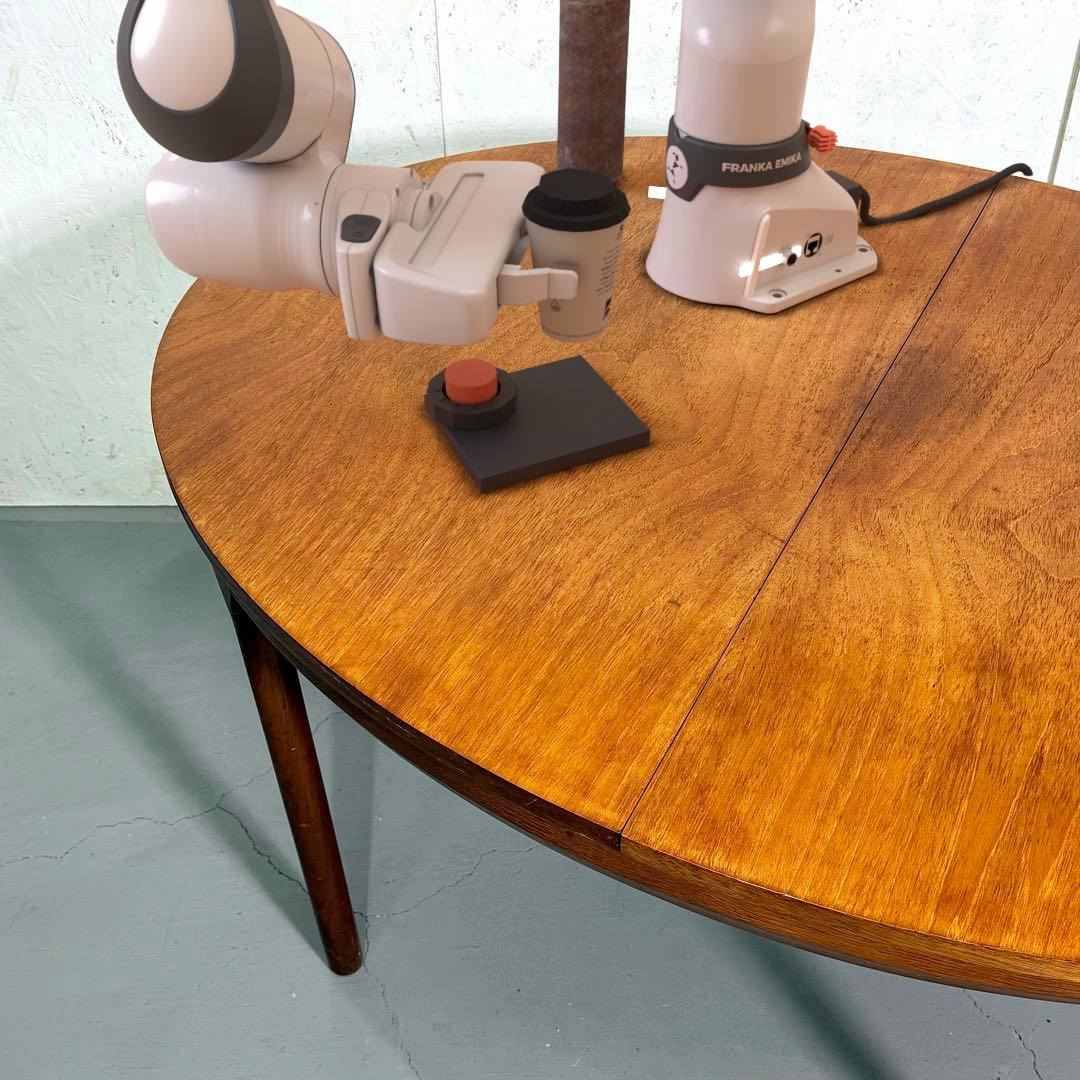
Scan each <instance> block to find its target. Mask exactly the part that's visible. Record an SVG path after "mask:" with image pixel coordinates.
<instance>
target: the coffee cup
mask: <svg viewBox="0 0 1080 1080" xmlns="http://www.w3.org/2000/svg"><path fill="white" fill-rule="evenodd" d="M545 173H546V172H545ZM522 211H523V214H524V216H525V217H526V219H527V226H528V234H529V241H530V245H529V247H530V255H531V263H532V269H538V268H548V267H551V265H552V263H553V262H561V263H565V264H569V263H572V264H576V265H577V266H579V268H580V286H579V289H578V292H577V295H576V297H575V298H574V299H572V300H564V299H552V298H548V299H546V300H542V301H538V302H537V307H538V314H539V316H538V317H539V322H540V329H541V331H542V333H544V335H546V336H547V337H549V338H551V339H552V340H555V341H559V342H561V343H571V344H575V343H576V344H577V343H585V342H586V343H587V342H590V341H594V340H596V339H598V338H600V337H601V336H602V335H603V334H605V333H606V331H607V328H608V325H609V324H608V323H609V317H610V312H611V307H612V302H613V301H612V300H613V295H614V288H615V285H616V277H617V271H618V268H619V260H620V255H621V249H622V244H623V238H624V234H625V233H624V232H625V227H626V220H627V218H628V217H629V216H630V213H631V211H632V208H631V206H630V203H629V200H628V198H627V195H626V193H625V192H624V191H623V190H622V189H620V188H619V187H617V186H616V185H615V183H614V182H613V181H612V180H611V179H610V178H609V177H608V176H605V175H603V174H601V173H597V172H591V171H586V170H580V169H572V168H567V169H561V170H557V169H556V170H552V171H549V172H547V173H546V174H544V175H541V178H540V183H539V185H538V186H536V187H534V188H533V189H532V190H530V191H529V192H528V194H527V196H526V198H525V200H524V202H523V204H522Z"/></svg>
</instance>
